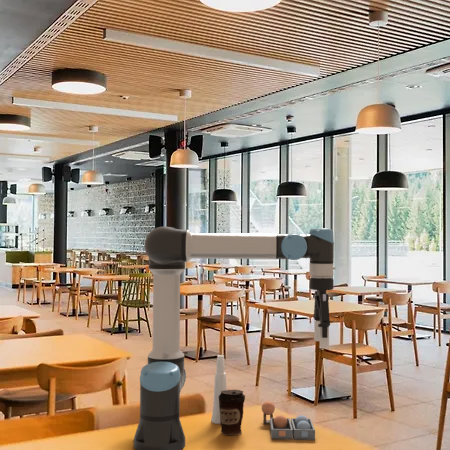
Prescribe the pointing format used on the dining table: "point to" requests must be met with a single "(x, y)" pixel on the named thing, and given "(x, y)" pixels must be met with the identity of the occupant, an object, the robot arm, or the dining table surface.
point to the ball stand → (266, 422)
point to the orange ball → (268, 408)
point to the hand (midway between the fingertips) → (321, 344)
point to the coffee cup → (231, 411)
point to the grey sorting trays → (292, 431)
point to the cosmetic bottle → (218, 387)
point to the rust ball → (280, 422)
